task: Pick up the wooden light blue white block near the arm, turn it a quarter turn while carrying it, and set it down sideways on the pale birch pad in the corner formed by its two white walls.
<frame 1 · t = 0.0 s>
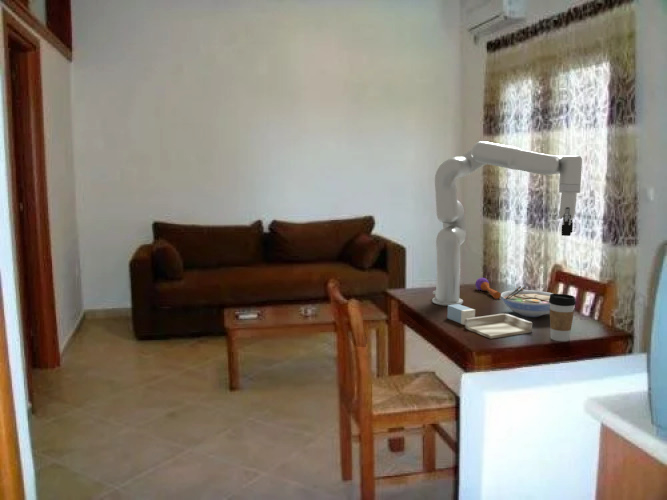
hand: (566, 234, 235), 31 cm above the table, tool pointing down, fingers open, 9 cm apart
ramen bowl: (530, 315, 239), on the table
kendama: (487, 294, 275), on the table
coffee cup: (559, 339, 209), on the table
arena: (498, 330, 219), on the table
light blue white block: (460, 320, 231), on the table
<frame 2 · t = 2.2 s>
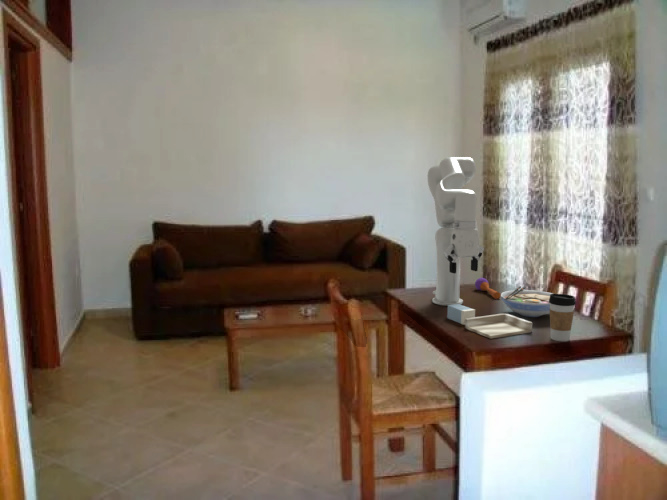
hand: (463, 271, 228), 18 cm above the table, tool pointing down, fingers open, 9 cm apart
nothing on the table moved.
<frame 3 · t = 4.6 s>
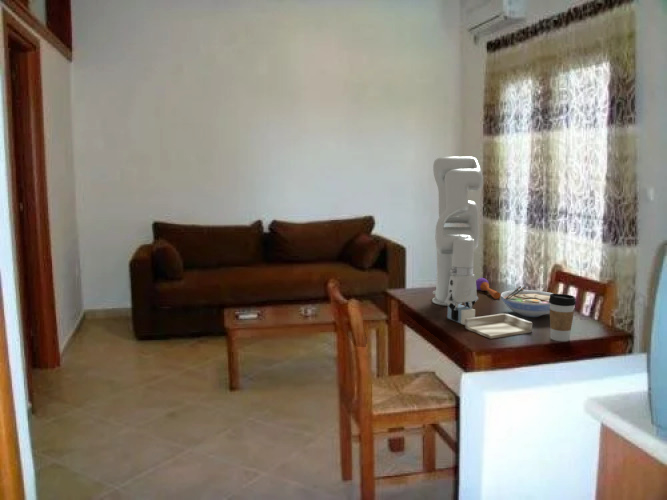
hand: (460, 318, 231), 1 cm above the table, tool pointing down, fingers closed on light blue white block, 5 cm apart
light blue white block: (460, 320, 231), on the table, touching gripper
everything else where it was.
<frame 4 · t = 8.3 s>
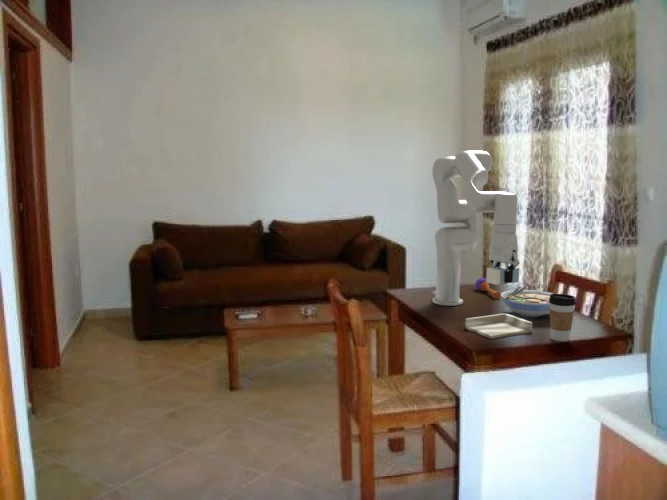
hand: (502, 280, 216), 18 cm above the table, tool pointing down, fingers closed on light blue white block, 5 cm apart
light blue white block: (502, 282, 217), point 17 cm above the table, touching gripper
everything else where it was.
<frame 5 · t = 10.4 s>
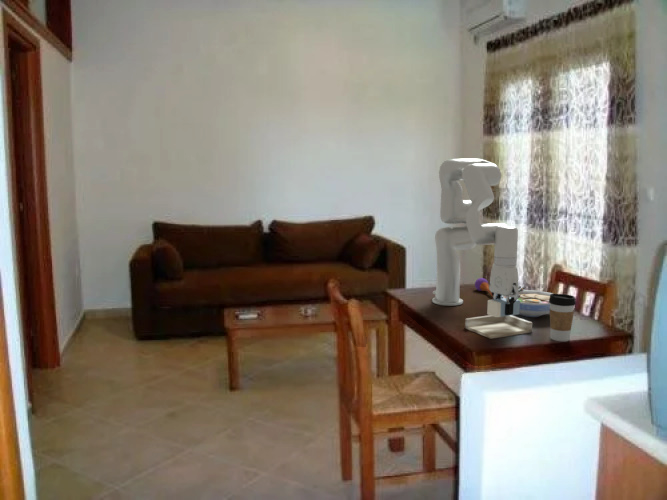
hand: (503, 312, 218), 6 cm above the table, tool pointing down, fingers closed on light blue white block, 5 cm apart
light blue white block: (503, 314, 218), point 6 cm above the table, touching gripper
everything else where it was.
when the fingers open (3 cm above the table, at t = 11.9 s): light blue white block drops 1 cm, resting on arena.
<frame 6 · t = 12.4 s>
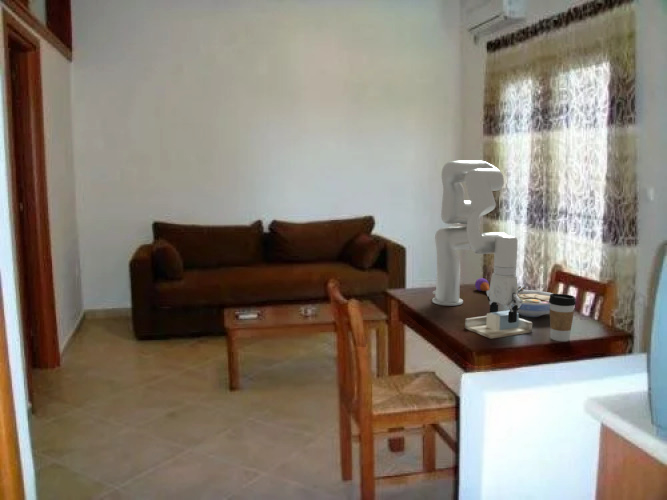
hand: (502, 318, 218), 4 cm above the table, tool pointing down, fingers open, 9 cm apart
light blue white block: (502, 327, 219), point 1 cm above the table, touching arena
everything else where it was.
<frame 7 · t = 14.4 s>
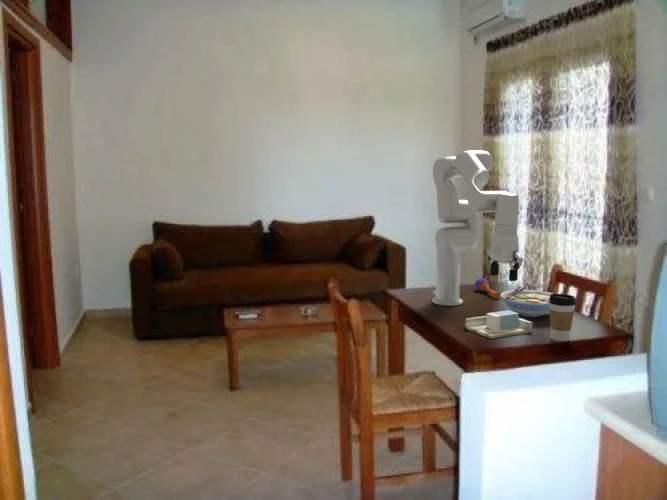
hand: (503, 277, 217), 19 cm above the table, tool pointing down, fingers open, 9 cm apart
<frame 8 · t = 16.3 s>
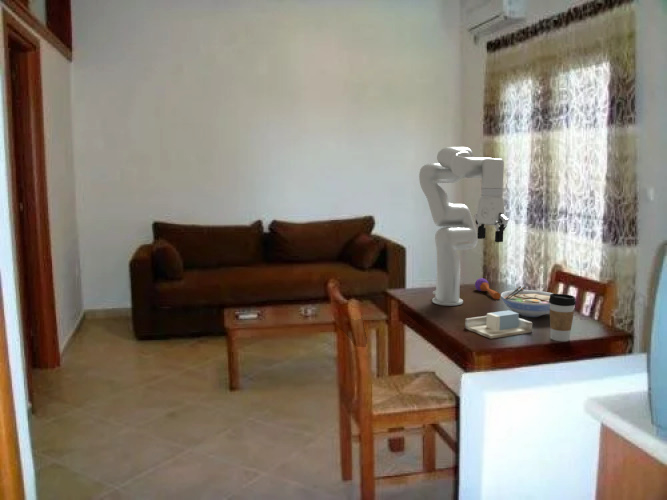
hand: (489, 240, 225), 30 cm above the table, tool pointing down, fingers open, 9 cm apart
at the end: light blue white block 0.1 cm from the target spot on the arena, point 1.0 cm above the arena's base; light blue white block touching arena; the gripper is holding nothing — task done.
